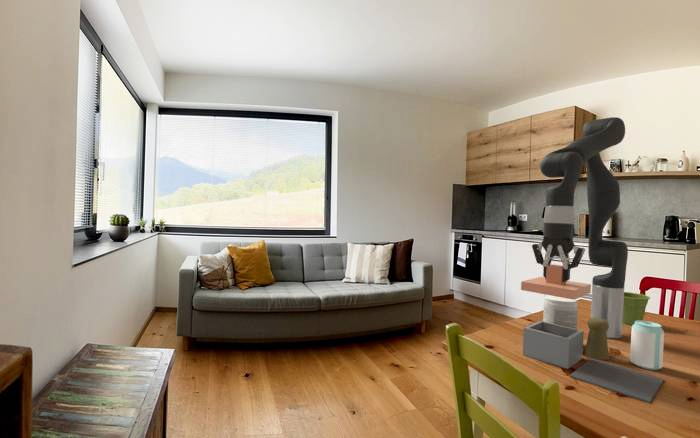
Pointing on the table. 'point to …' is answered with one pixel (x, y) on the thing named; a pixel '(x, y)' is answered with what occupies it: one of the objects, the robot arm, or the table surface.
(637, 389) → the mat
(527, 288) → the lid
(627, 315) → the plant pot
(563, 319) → the supplement tub
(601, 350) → the pepper mill
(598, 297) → the robot arm
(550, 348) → the storage box
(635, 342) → the can
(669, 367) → the table surface
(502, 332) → the table surface
